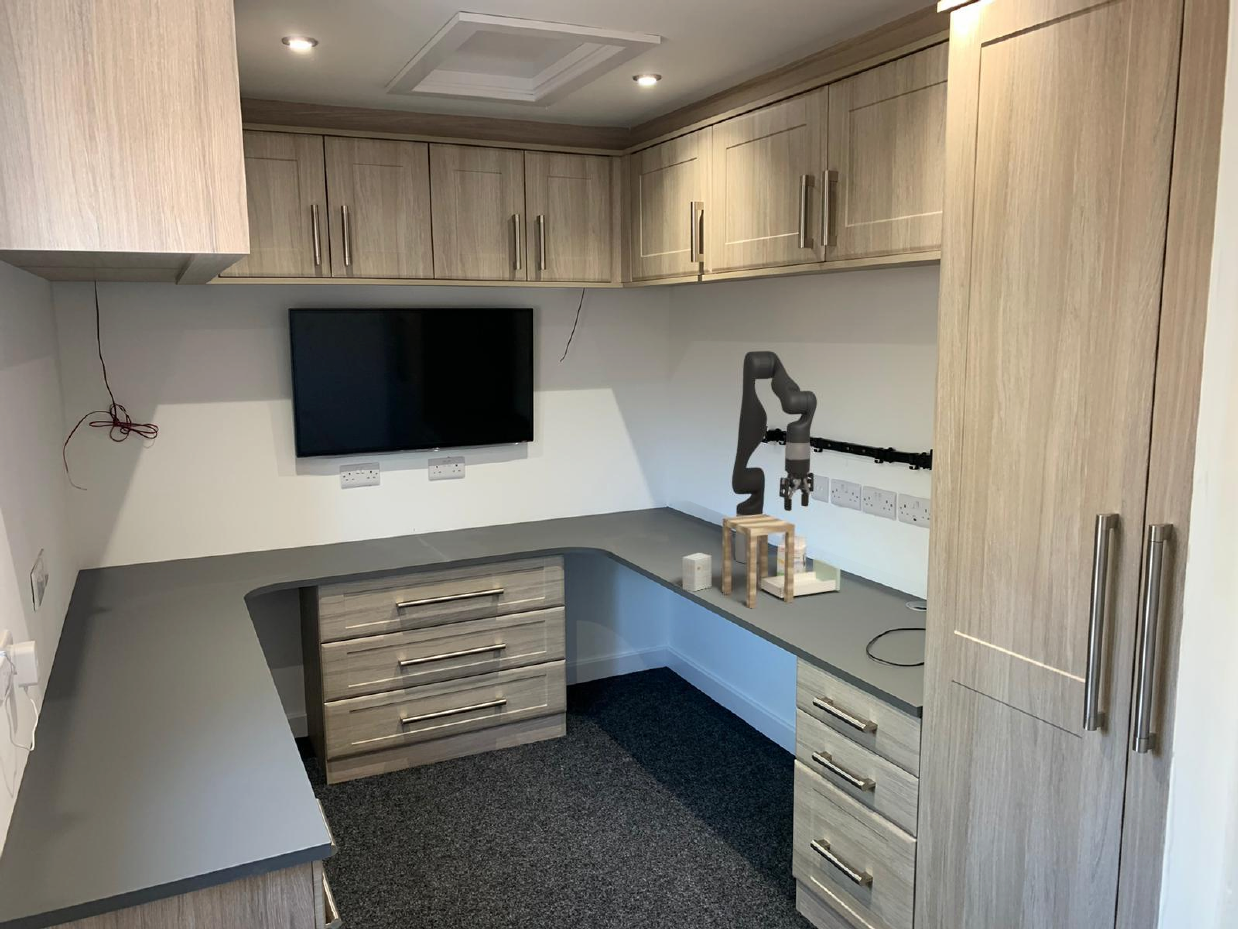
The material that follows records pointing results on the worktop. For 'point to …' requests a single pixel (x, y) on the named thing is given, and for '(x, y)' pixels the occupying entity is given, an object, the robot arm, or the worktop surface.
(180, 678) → the worktop surface
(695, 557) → the small box
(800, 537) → the ink box
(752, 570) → the wooden step stool
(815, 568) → the drawer
